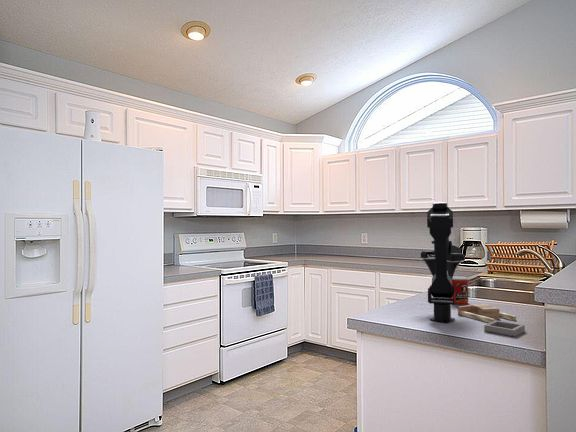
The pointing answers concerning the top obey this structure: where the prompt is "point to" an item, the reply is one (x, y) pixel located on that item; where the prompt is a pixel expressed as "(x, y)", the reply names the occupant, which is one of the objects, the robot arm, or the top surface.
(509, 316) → the wooden lane
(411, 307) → the top surface
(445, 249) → the robot arm
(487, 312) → the light brown wooden block
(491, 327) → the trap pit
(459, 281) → the canned food
